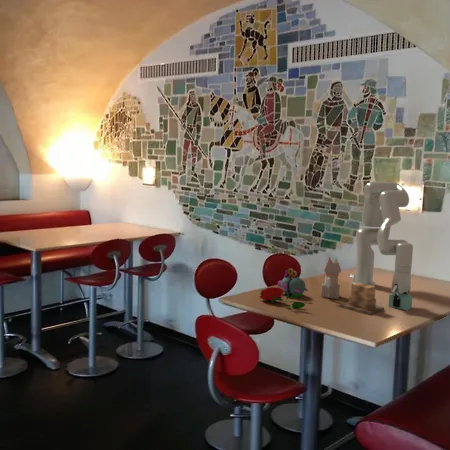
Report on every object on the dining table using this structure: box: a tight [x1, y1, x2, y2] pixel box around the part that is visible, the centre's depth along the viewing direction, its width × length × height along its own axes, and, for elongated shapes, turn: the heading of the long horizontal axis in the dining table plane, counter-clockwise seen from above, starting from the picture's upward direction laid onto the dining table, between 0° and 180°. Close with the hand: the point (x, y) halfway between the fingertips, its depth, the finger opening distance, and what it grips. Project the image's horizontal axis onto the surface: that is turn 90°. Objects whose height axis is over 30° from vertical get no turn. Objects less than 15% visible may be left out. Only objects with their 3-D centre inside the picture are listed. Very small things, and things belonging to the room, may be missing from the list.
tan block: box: [350, 283, 376, 301], centre depth 260 cm, size 9×6×6 cm, turn 42°
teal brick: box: [388, 292, 414, 311], centre depth 265 cm, size 9×6×6 cm, turn 50°
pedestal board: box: [340, 295, 385, 316], centre depth 261 cm, size 16×12×5 cm
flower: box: [259, 286, 313, 310], centre depth 261 cm, size 9×10×30 cm
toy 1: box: [277, 268, 309, 295], centre depth 281 cm, size 11×14×15 cm
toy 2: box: [320, 257, 342, 300], centre depth 277 cm, size 9×18×20 cm, turn 161°
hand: (400, 305), depth 265 cm, fingers closed on teal brick, 6 cm apart
